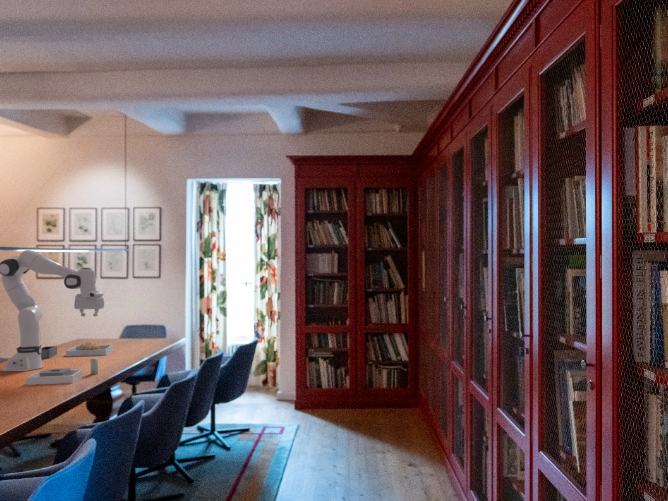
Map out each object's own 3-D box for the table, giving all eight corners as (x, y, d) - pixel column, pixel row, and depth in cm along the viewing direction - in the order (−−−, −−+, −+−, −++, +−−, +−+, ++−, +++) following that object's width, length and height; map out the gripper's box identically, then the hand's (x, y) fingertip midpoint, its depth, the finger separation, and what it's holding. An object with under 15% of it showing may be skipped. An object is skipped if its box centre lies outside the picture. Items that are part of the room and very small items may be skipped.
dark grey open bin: (36, 358, 365) (36, 350, 366) (44, 354, 381) (44, 346, 381) (48, 358, 367) (48, 349, 367) (56, 354, 383) (56, 346, 383)
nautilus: (81, 351, 394) (103, 351, 398) (75, 354, 374) (98, 354, 377) (82, 341, 395) (103, 341, 399) (76, 343, 374) (99, 343, 378)
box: (25, 385, 288) (25, 374, 288) (38, 377, 305) (38, 368, 306) (72, 382, 292) (72, 372, 292) (82, 375, 309) (82, 366, 310)
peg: (89, 374, 313) (89, 359, 313) (91, 373, 317) (91, 358, 317) (96, 374, 314) (96, 359, 314) (98, 372, 317) (98, 357, 318)
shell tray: (65, 356, 374) (65, 350, 374) (75, 351, 394) (75, 346, 395) (106, 355, 378) (106, 349, 378) (113, 350, 399) (113, 344, 399)
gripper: (71, 294, 325) (72, 317, 325) (97, 294, 318) (98, 317, 318) (79, 293, 331) (80, 315, 330) (105, 293, 324) (106, 315, 324)
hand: (89, 316), depth 324 cm, fingers open, 8 cm apart
